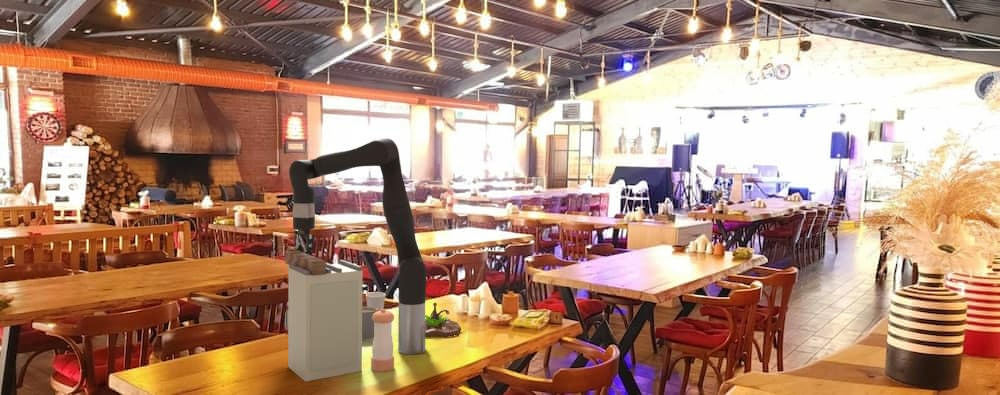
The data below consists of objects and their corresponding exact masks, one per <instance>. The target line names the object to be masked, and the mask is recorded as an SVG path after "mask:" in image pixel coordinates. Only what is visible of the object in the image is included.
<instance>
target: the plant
mask: <svg viewBox="0 0 1000 395" xmlns="http://www.w3.org/2000/svg"><path fill="white" fill-rule="evenodd" d="M432 305H433V310H432V312H431V313H430V316H429V315H427V314H425V322H426V337H429V338H450V337H449V336H453V337H455V336H454V335H457V336H459V334H460V333H461V332H462V327H461V325H460V324H459V323H458V322H457V321H455V320H454V321H453V320H451V319H449V316H444V317H443V314H442V313H443V312H445V313H446V315H450V311H449V310H448V309H442V310H440V311H439V312H438V313H437V302H433V304H432ZM460 331H461V332H460ZM459 332H460V333H459Z"/></svg>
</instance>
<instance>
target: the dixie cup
mask: <svg viewBox="0 0 1000 395" xmlns="http://www.w3.org/2000/svg"><path fill="white" fill-rule="evenodd" d="M386 296H387V295H386V293H385V292H378V291H375V292H368V293H366V294H365V298H366V307H375V308H377V309H378V311H381V309H385V308H384V306H385V300H386Z"/></svg>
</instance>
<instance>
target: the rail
mask: <svg viewBox="0 0 1000 395" xmlns="http://www.w3.org/2000/svg"><path fill="white" fill-rule="evenodd" d="M326 263H327V261H326V260H324V259H321V258H319V257H316V256H313V255H312V254H311V255H308V254H305V252H304V251H303V252H300V251H297V249H296V250H285V251H284V264H286V265H288V266H289V264H294V265H296V266H299V267H301V268H303V269H306V270H308V271H310V274H311V275H313V276H314V275H325V274H326Z"/></svg>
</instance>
